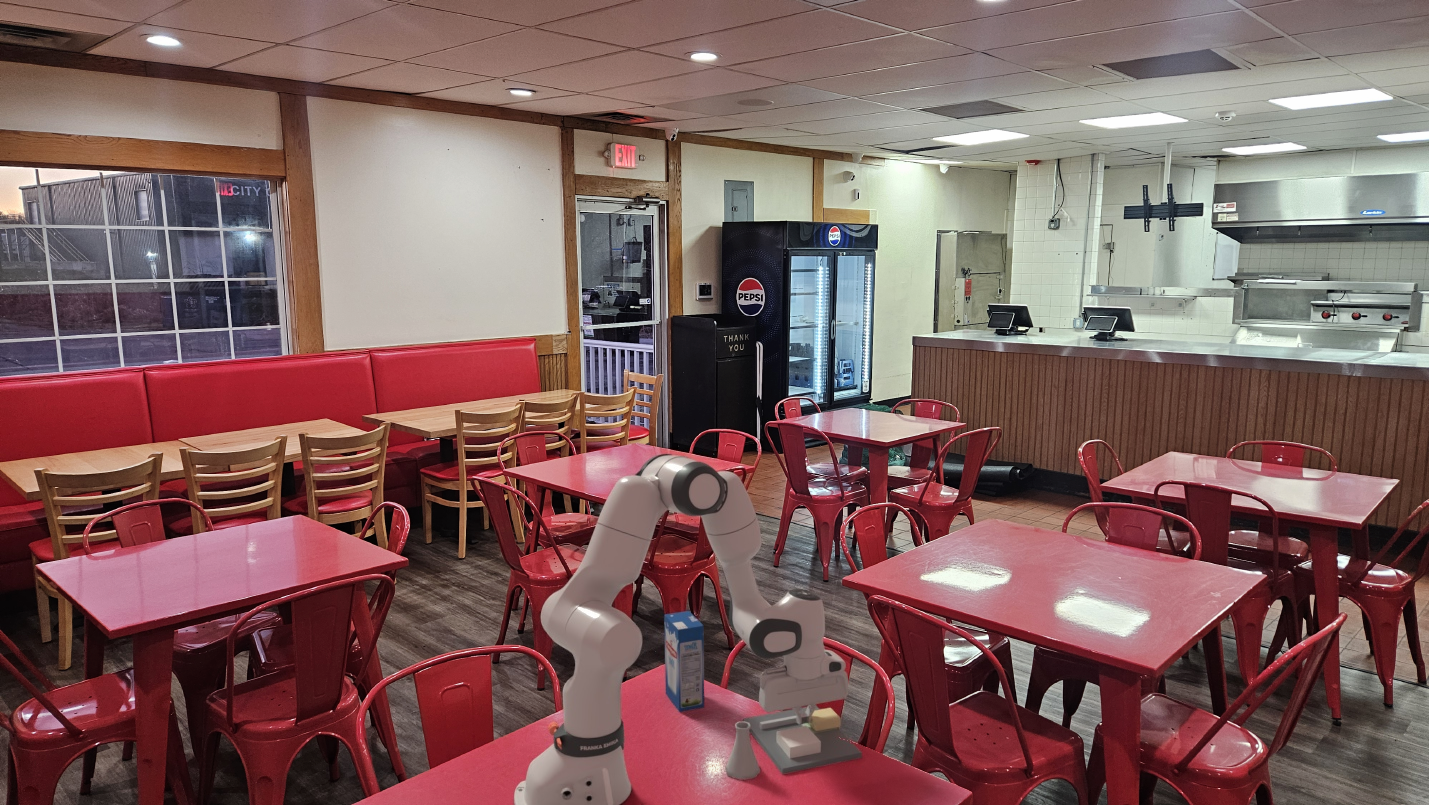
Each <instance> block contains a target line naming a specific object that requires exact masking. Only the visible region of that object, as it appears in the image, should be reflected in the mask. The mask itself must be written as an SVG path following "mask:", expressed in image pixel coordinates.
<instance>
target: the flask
mask: <svg viewBox="0 0 1429 805" xmlns="http://www.w3.org/2000/svg"><path fill="white" fill-rule="evenodd" d="M734 727H735V730H736V732H735V733H736V734H735V740H734V744H733V747H732V749H731V752H730V755H729V757H728V760H727V763H726V765H725V771H726V776H728V777H732V778H733V779H737V780H749V779H755V778H756V777H757V776H758V775H759V774H760V773H761V772H762V771H761V769H760V768H761V767H760V766H759V762H758V759H757V756H756V754H755V752H754V748H753V746H752V742H751V736H750V732H749V729H750V728H751V726H750V723H748V722H745V721H743V720H742V721H737V722H735V724H734Z"/></svg>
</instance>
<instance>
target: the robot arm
mask: <svg viewBox="0 0 1429 805" xmlns="http://www.w3.org/2000/svg"><path fill="white" fill-rule="evenodd" d="M639 469H640V470H639V471H637V472H636V473H635V474H634V475H633V474H632V475H625V476H622V477H621V478H619V479H618V480H617V481H616V483H615V484H614V486H613V488H612V489H611V491H610V493H609V495H608V496H607V498H606V501H605V503H604V504H603V506H602V509H601V512H600V513H599V517H598V519H597V521H596V524H595V528H594V530H593V533H592V535H591V538H590V541H589V543H588V546H587V549H586V551H585V553H584V555H583V556H584V557H583V558H582V560H581V563H580V564H579V566H578V568H577V569H576V571H575V572H574V573H573V575H572V576H571V577H570V579H569V580H568V582H566V584H565V585H564V586H563V587H562V588H561V589H558V590H556V591H555V592H553V593H552V594H551V595H550V596H548V598H547V599H546V600H545V602H544V604H543V606H542V607H541V608H542V609H541V611H540V612H541V613H540V622H541V625H542V628H543V630H544V631H545V632H546V633H547V635H548V636H549V638H550V639H552V641H553V642H554V643H556V644H557V645H559V646H560V647H562V648H564V649H565V650H566V651H568V652H569V653H571V654H572V655H573V659H574V663H575V666H574V671H573V675H572V676H571V677H570V678H569V679H568V680H567V681H566V682H565V684H564V686H563V688H562V706H563V707H562V708H563V723H561V725H560V726H559V724H558V723H557V721H551V722H550V723H549V724H548V725H547V726H548V727H547V728H548V731H549V734H550V735H551V736H553V743H552V744H551V745H550V746H549V747H548V748H546V749H545V750H544V751H543V752H541V753H540V754H539V755H538V756H536V757H535V758H533V760H532V761H531V762H530V764H529V765H528V768H527V771H526V777H525V780H523V781H520V782H519V783H518V785H516V787H515V790H514V795H513V796H514V797H513V805H621V804H623V803H624V802H625V801H626V800H627V799H628V798H629V797H630V794H631V791H632V784H631V781H630V779H629V776H628V771H627V766H626V762H625V756H624V749H625V739H626V738H625V725H624V721H623V719H622V695H621V694H622V684H623V679H624V675H625V672H626V669H629V668H630V667H631V666H632V665H633V664H634V663H635V662H636V661H637V659H638V657H639V655H640V653H641V650H642V648H643V634H642V631H641V629H640V628H639V627H638V625H636V622H634V621H633V620H632V619H631V618H630V617H629V616H628V615H627V614H626V612H623V611H621V610H619V609H617V608H615V607H613V606H612V605H613V602H614V601H615V599H616V597H617V596H618V594H619V593H620V592H621V591H622V590H623V589H624V588H625V587H626V586H628V585H631V584H633V583H634V582H635V581H636V580H637V579H638V578H639V577H640V573H641V571H642V568H643V564H644V562H645V559H646V556H647V553H648V550H649V547H650V545H651V542H652V539H653V535H654V532H655V528H656V525H657V523H658V521H659V520H660V518H661V517H662V516H663V515H664V514H665V513H666V512H667V511H670V512H674V513H678V514H683V515H686V516H690V517H700V518H701V520H702V523H703V524H702V525H703V527H704V531H705V534H706V537H707V540H708V541H709V545H710V546H711V549H712V551H713V553H714V555H715V557H716V558H717V560H718V561H719V564H720V565H721V567H722V572H723V574H724V578H725V582H726V585H727V586H726V587H727V590H728V593H729V611H728V621H729V625H730V627H731V630H732V631H733V632H734V634H736V635H737V636H739V637H740V638H741V640H742V641H743V642H744V643H745V645H746V646H747V647H748V648H749V649H750V650H751V652H753V654H755V656H757V657H758V658H761V659H764V660H771V659H776V658H780V657H783V665H782V666H777V667H773V668H772V667H770V668H766V669H765V670H764V671H763V672H762V673H761V674H760V675H759V694H758V703H759V704H758V705H759V706H760V707H761V709H762V710H763V711H764V712H766V713H775V712H781V711H786V710H792V709H793V711H794V712H795V714H796V722H797V723H798V724H799V725H800V724H805V723H810V722H811V716H812V714H813V713H814V711H815V709H816V706H817V704H822V703H829V702H833V701H839V700H844V699H846V698H847V696H848V695H849V678H848V673H847V672H846V671H845V670H846V664H847V663H846V662H845V660H844V659H843V658H842V657H841V656H840V655H838V654H837V653H835V651H832V650H830V649H825V645H824V636H825V634H826V633H825V632H826V619H825V608H824V603H823V600H822V599H821V597H819V596H818V595H817V594H816V593H814V592H813V591H810V590H808V589H804V588H803V589H802V588H801V589H800V588H793V589H790V590H788V591H787V593H786V595H784V596H783V597H782V598H781V599H780V600H778V601H777V602H776V603H773V604H771V603H770V602H769V601H768V600H767V598H765V596H763V594H761V593H760V590H759V588H758V584H757V581H756V579H755V574H754V571H753V567H752V563H751V560H752V558H755V556H756V555H757V553H759V551H760V549H761V546H762V544H763V543H762V534H761V533H762V532H761V528H760V523H759V519H758V516H757V514H756V510H755V507H754V505H753V502H752V500H751V497H750V495H749V493H748V490H747V489H746V487H745V486H744V483H743V481H742V480H741V478H740V477H739V476H738V475H737V474H736V473H734V472H732V471H727V470H719V471H717V470H716V469H715V468H713V467H712V466H710V464H708V463H705V462H703V461H698V460H696V459H693V458H690V457H688V456H684V455H678V454H677V455H675V454H674V455H673V454H671V453H662V454H657V455H655V456H652V457H650V458H649V459H648V460H646V461H645V463H644V464H643V465H642V466H641V468H639ZM802 707H807V709H806V712H805V713H799V711H801V708H802Z"/></svg>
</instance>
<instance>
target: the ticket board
mask: <svg viewBox="0 0 1429 805" xmlns="http://www.w3.org/2000/svg"><path fill="white" fill-rule="evenodd" d="M807 707H808V706H802V707H801V711H799V713H805V712H806V709H807ZM815 710H821V708H819V707H818V706H817V705H816V709H815ZM742 721H745V722H748V723H750V726H751V728H750V729H749V734H751V736H752V737H753V738H754V740H756V742H757V744H759V746H760V747H761V749H762V750H763V751H764V752H765V754H766V755H767V756H768V758H769V759H770V760H771V762H772V763H773V764H774V765H775V767H776V768H777V769H778V770H779V772H780V773H781V775H785V774H791V773H795V772H800V771H803V770H804V771H806V770H811V769H814V768H819V767H820V768H821V767H824V766H829V765H834V764H838V763H839V764H840V763H843V762H848V761H852V760H858V759H862V757H863V756H862V754H863V753H862V751H861V750H860V749H859V748H858V747H857V746H856V745H855V744H854V742H852V743H850V741H851V740H850V739H849V738H848V737H847V736H846V734H845V733H844V732H843V731H842V730H840V729H839V727H836V728H831V729H825V730H820V731H815V730H814V729H813V728H812V727H811V726H810V725H809V723H805V724H800V725H799V724H798V723H797V722H796V714H795V712H794V711H793V709H792V708H791V709H785V710H780V711H774V712H769V713H765V714H760V715H755V716H749V717H743V718H742ZM839 737H840V738H841V739H840V738H839ZM843 739H845V740H843ZM847 740H848V741H847Z"/></svg>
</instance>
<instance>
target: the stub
mask: <svg viewBox="0 0 1429 805" xmlns="http://www.w3.org/2000/svg"><path fill="white" fill-rule="evenodd" d="M841 721H842V720H841V717H840V716H839V715H838V714H837V713H836V712H835V711H834V709H833V708H831V707H827V708H820V710H815V711H814V713H813V714H812V716H811V722H810V723H809V725H810V726H811V727H812V728H813V729H814V730H815V731H820V730H825V729H831V728H836V727H837V728H839V727H841V725H842V722H841Z"/></svg>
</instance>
